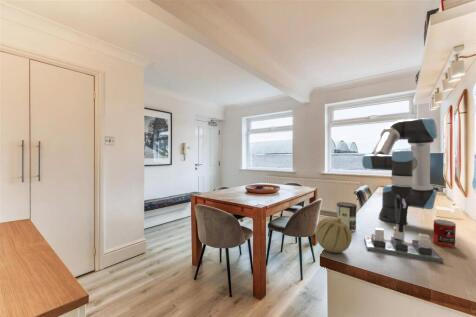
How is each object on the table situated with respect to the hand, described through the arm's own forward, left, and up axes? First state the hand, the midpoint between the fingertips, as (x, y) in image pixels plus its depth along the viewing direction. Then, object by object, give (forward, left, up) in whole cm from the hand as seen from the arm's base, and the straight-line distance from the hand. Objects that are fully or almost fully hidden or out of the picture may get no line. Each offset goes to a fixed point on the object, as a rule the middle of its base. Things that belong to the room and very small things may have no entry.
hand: (399, 238), depth 97 cm
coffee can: (-23, -21, -6) cm, 31 cm away
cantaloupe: (+13, -27, -6) cm, 31 cm away
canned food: (-19, +21, -6) cm, 29 cm away
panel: (-2, 0, -6) cm, 6 cm away
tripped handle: (-5, 0, -1) cm, 5 cm away
